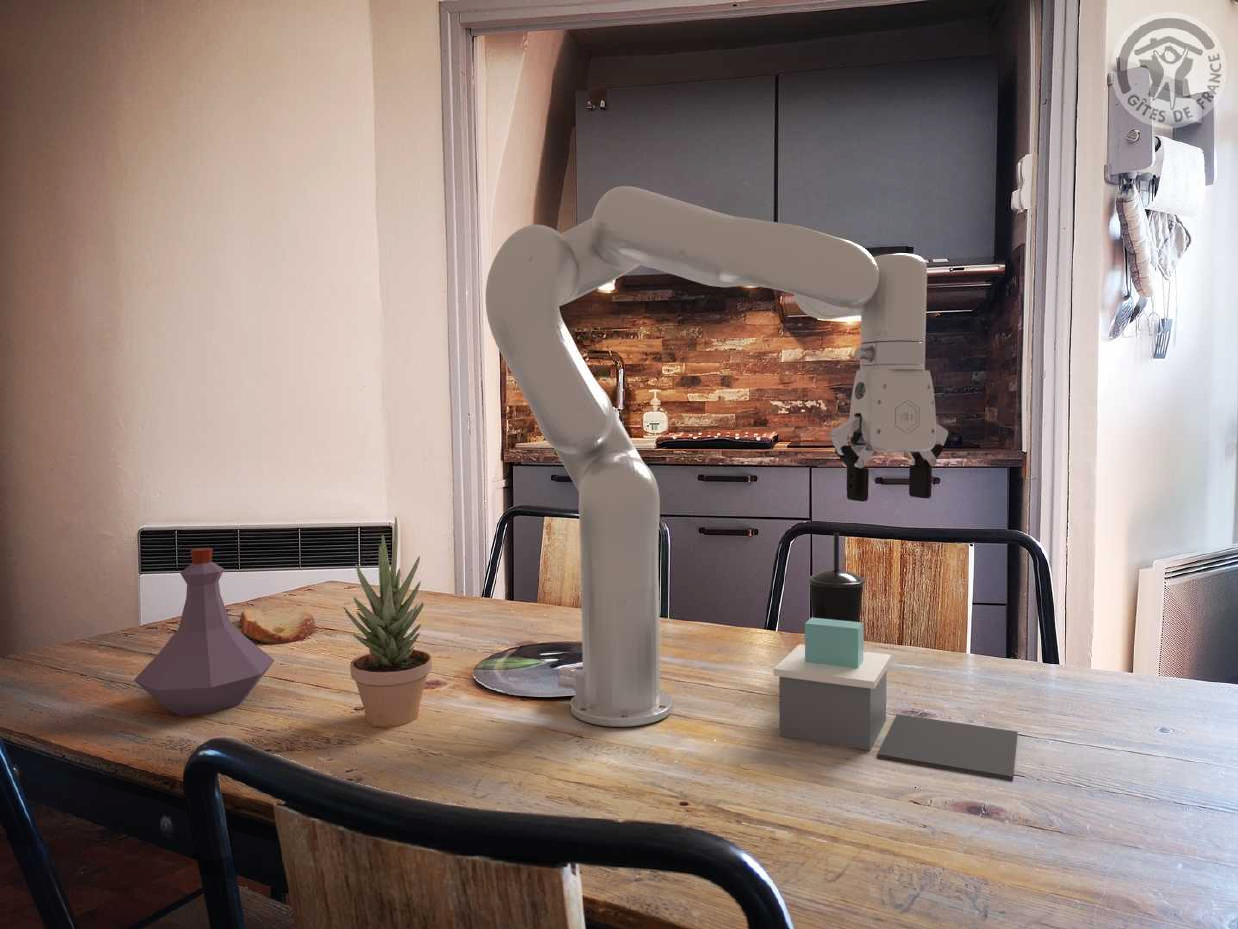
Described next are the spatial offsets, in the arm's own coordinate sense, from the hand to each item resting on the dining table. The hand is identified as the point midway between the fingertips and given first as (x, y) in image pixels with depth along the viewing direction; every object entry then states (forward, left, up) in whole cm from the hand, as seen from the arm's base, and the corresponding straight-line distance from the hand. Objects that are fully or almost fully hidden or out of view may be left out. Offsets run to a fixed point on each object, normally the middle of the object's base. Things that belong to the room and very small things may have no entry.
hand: (889, 498), depth 104 cm
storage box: (-4, -11, -26) cm, 28 cm away
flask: (-79, -36, -26) cm, 91 cm away
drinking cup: (-8, +8, -26) cm, 28 cm away
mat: (+8, -11, -26) cm, 29 cm away
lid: (-4, -11, -20) cm, 23 cm away
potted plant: (-53, -30, -26) cm, 66 cm away
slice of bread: (-102, -6, -26) cm, 106 cm away
